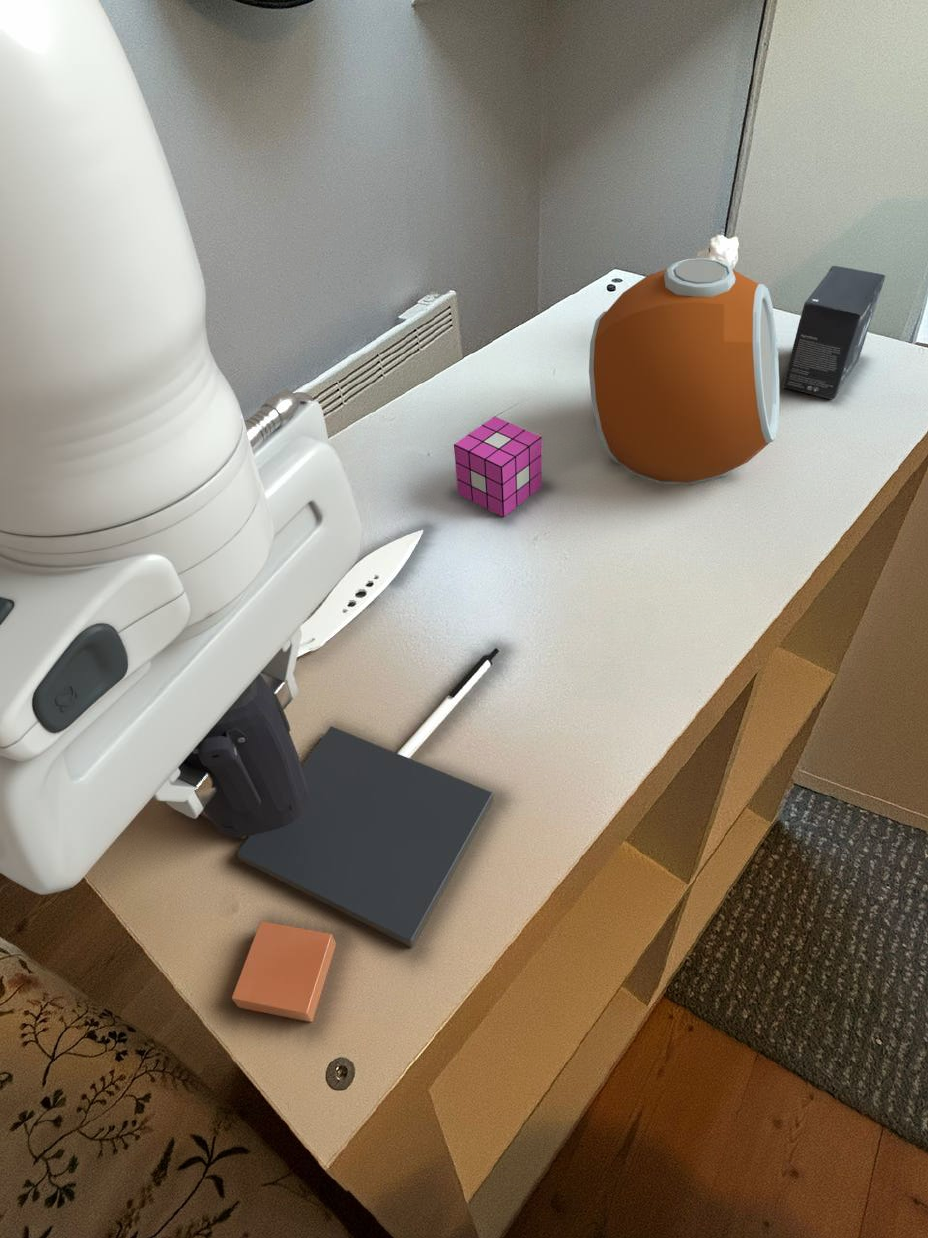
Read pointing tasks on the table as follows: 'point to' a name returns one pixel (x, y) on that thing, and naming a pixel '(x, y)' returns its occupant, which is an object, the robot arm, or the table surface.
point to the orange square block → (285, 971)
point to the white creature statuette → (722, 250)
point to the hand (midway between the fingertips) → (236, 749)
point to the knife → (356, 591)
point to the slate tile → (373, 835)
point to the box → (832, 331)
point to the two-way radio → (252, 766)
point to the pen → (447, 705)
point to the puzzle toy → (498, 465)
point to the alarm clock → (686, 373)
